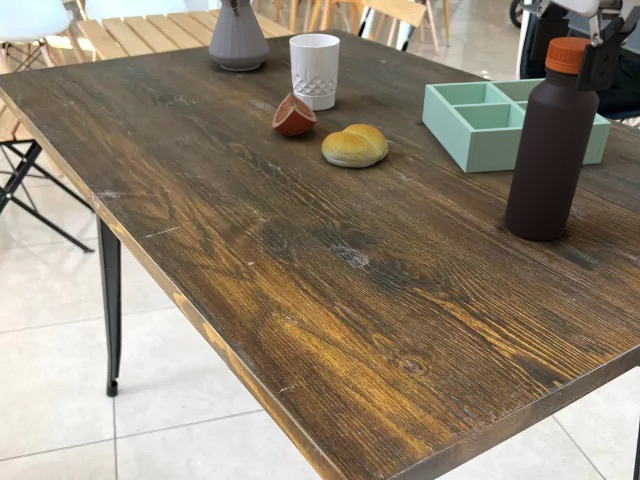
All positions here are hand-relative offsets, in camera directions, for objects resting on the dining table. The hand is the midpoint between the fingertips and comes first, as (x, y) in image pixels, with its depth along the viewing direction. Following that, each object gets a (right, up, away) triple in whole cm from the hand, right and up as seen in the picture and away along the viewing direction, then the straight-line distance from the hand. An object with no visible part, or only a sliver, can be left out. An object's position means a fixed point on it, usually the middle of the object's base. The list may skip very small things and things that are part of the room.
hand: (566, 74), depth 64 cm
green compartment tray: (+3, +2, +31) cm, 31 cm away
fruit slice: (-28, +4, +33) cm, 44 cm away
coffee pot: (-39, +22, +57) cm, 72 cm away
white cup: (-25, +11, +43) cm, 51 cm away
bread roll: (-19, -2, +26) cm, 33 cm away
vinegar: (0, -14, +11) cm, 17 cm away
